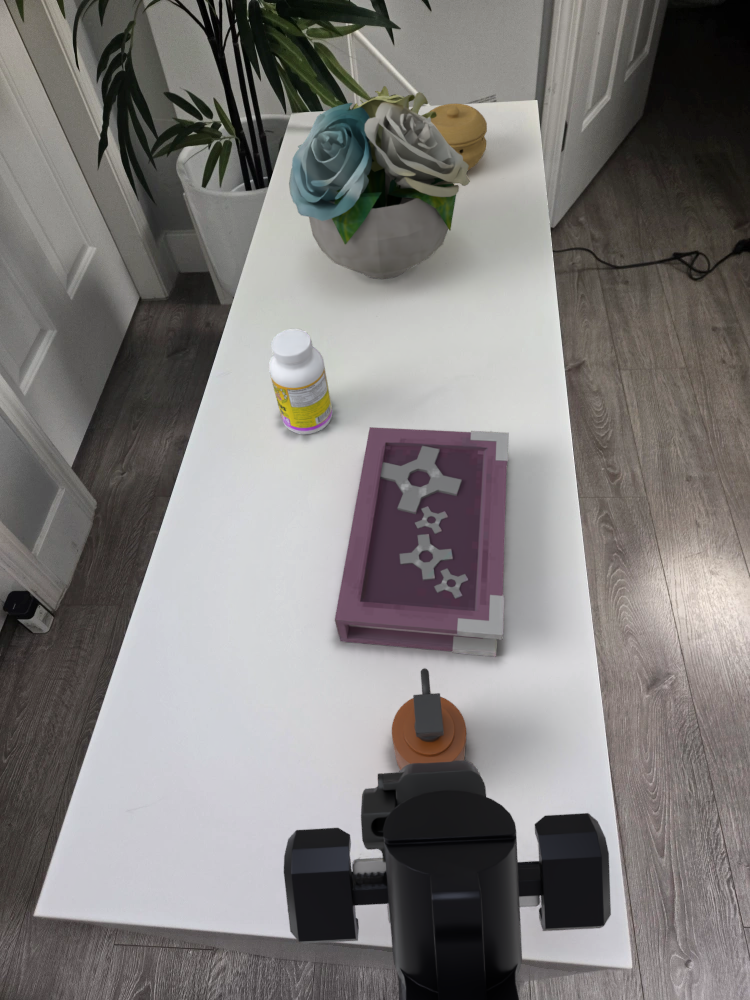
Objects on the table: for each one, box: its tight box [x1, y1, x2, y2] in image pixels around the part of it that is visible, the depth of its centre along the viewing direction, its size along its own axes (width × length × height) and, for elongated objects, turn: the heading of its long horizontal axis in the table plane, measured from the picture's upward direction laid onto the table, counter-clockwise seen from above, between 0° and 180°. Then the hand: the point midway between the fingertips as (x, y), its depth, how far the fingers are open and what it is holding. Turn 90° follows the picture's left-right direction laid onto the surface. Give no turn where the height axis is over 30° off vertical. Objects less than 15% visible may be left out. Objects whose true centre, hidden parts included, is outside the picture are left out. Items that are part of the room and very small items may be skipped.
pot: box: [428, 103, 488, 171], centre depth 121 cm, size 12×12×10 cm
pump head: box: [412, 667, 444, 737], centre depth 59 cm, size 6×2×2 cm, turn 2°
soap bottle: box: [391, 696, 467, 771], centre depth 63 cm, size 6×6×7 cm
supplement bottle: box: [268, 328, 334, 435], centre depth 87 cm, size 7×7×13 cm
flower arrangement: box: [288, 85, 471, 280], centre depth 100 cm, size 25×25×24 cm
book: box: [334, 426, 510, 658], centre depth 77 cm, size 25×16×5 cm, turn 172°
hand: (437, 799), depth 50 cm, fingers closed
